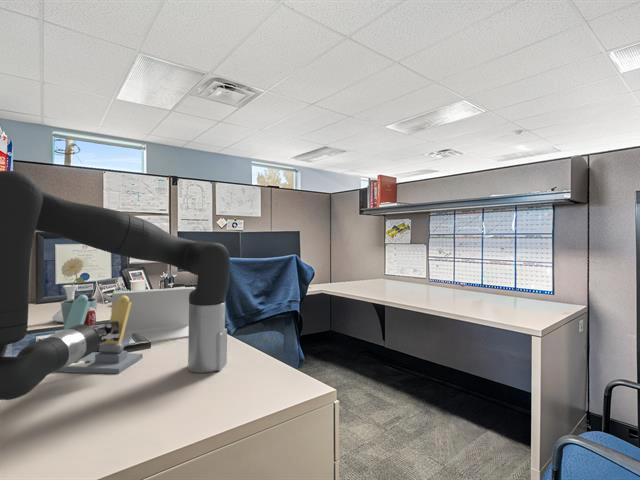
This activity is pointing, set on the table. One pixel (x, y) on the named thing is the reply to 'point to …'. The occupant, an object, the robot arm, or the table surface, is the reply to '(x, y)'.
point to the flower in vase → (70, 269)
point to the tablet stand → (157, 313)
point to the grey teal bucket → (68, 303)
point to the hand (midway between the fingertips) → (115, 325)
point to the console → (103, 362)
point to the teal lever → (78, 312)
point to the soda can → (90, 317)
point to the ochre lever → (120, 315)
